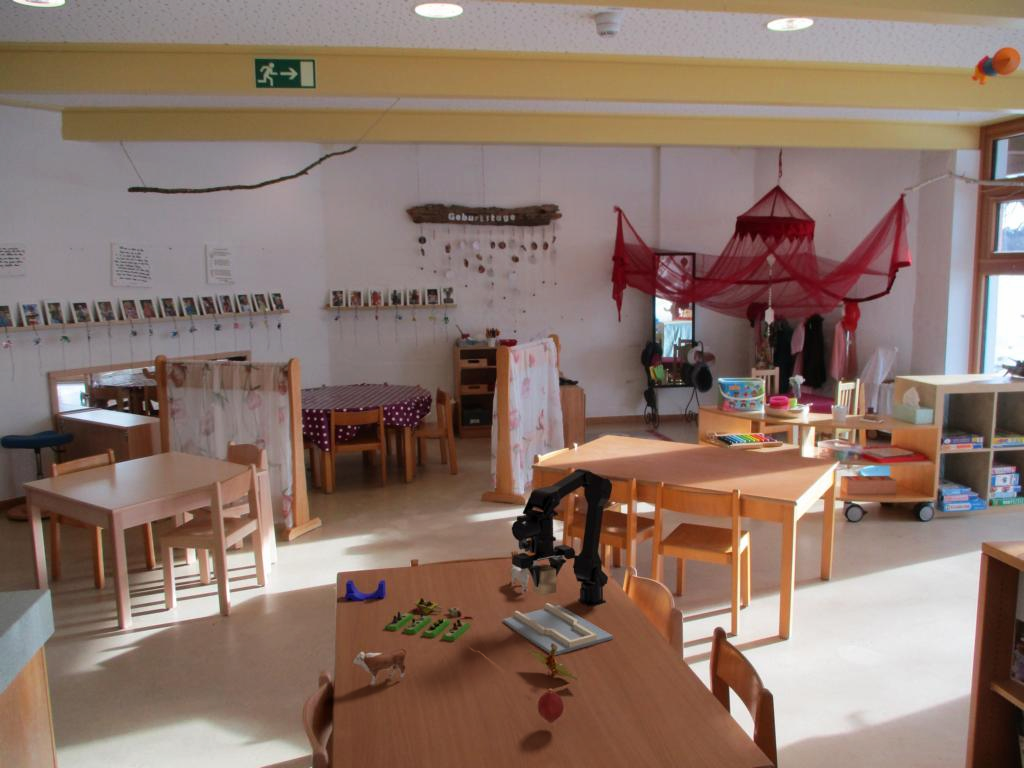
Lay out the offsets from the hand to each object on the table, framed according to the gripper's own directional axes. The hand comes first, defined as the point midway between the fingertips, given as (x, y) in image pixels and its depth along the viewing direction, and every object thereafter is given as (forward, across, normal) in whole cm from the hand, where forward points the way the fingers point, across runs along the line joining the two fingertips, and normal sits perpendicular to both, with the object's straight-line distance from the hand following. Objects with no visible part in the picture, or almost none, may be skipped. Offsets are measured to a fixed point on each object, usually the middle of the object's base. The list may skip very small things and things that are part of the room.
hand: (544, 584), depth 235 cm
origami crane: (+12, +17, +26) cm, 33 cm away
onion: (+12, +29, +48) cm, 57 cm away
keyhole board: (+12, 0, +6) cm, 13 cm away
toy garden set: (+12, +27, -18) cm, 35 cm away
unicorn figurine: (+12, -8, -25) cm, 29 cm away
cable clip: (+12, +39, -47) cm, 62 cm away
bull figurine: (+12, +54, +8) cm, 56 cm away
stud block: (+2, 0, 0) cm, 2 cm away
